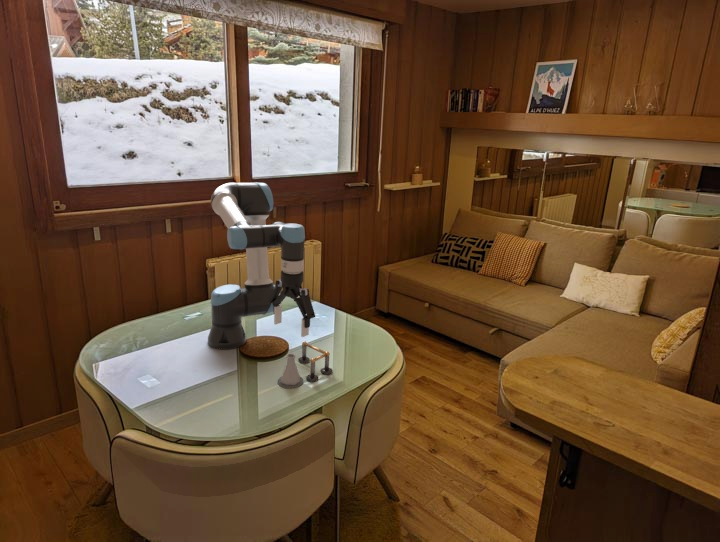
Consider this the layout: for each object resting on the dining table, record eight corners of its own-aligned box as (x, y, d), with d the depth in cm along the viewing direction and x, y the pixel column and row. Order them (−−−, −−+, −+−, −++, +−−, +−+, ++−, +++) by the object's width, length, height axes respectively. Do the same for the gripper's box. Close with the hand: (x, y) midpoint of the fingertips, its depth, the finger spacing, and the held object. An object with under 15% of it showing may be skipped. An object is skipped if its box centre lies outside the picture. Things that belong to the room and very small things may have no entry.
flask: (277, 384, 173) (277, 358, 170) (284, 374, 180) (284, 349, 177) (296, 387, 172) (297, 361, 169) (303, 377, 179) (304, 352, 176)
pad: (272, 381, 175) (272, 380, 175) (291, 372, 182) (291, 371, 182) (289, 391, 170) (289, 390, 170) (308, 381, 177) (308, 380, 177)
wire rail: (281, 367, 186) (281, 347, 183) (304, 357, 195) (304, 338, 192) (312, 383, 176) (312, 362, 174) (334, 371, 185) (335, 351, 182)
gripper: (259, 264, 168) (259, 321, 175) (310, 282, 154) (308, 344, 160) (275, 260, 174) (275, 315, 181) (327, 277, 159) (324, 337, 166)
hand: (291, 329), depth 170 cm, fingers open, 13 cm apart
